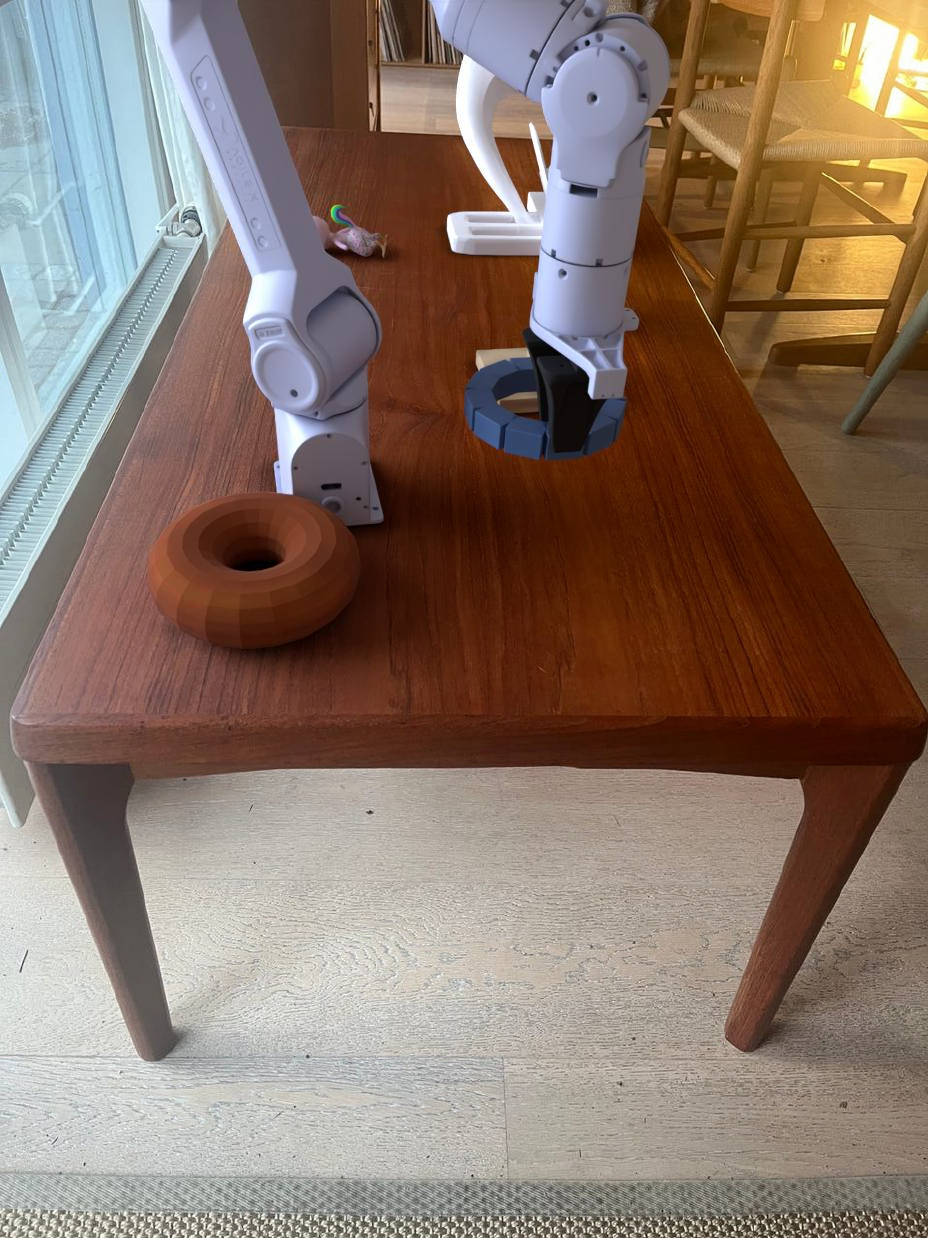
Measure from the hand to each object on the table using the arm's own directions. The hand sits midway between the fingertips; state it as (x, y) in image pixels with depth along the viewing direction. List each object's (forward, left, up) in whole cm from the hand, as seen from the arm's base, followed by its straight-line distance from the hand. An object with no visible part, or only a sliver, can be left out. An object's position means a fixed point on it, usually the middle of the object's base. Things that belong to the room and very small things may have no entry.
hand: (561, 439), depth 69 cm
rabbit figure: (+60, +11, -10) cm, 62 cm away
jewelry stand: (+67, -13, -10) cm, 69 cm away
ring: (+5, 0, -1) cm, 5 cm away
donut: (-2, +22, -10) cm, 24 cm away
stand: (+25, -6, -10) cm, 28 cm away
